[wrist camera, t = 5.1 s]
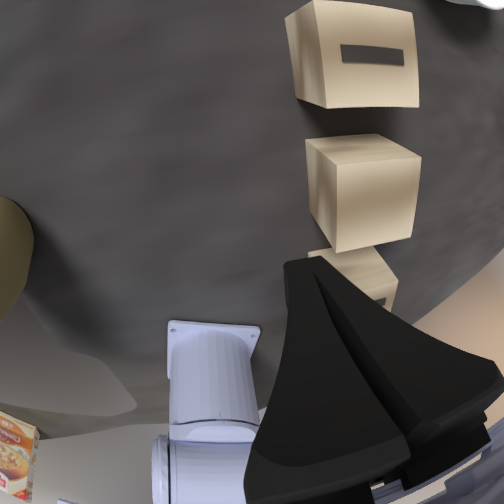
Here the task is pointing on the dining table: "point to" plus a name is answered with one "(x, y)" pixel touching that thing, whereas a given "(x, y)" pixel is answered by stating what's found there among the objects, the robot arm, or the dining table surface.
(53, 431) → the dining table surface
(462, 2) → the ramekin
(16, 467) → the coffeecake box
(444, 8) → the dining table surface
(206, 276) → the dining table surface
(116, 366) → the dining table surface
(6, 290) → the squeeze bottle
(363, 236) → the plain block
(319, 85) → the numbered block one
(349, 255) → the numbered block seven
